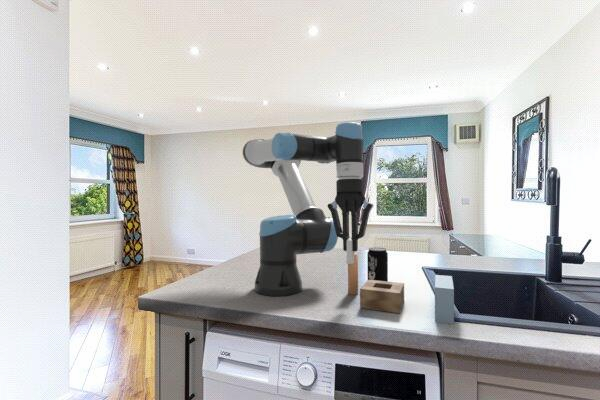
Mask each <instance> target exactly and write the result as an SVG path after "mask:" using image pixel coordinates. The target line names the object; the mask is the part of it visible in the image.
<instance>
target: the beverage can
mask: <svg viewBox="0 0 600 400" xmlns="http://www.w3.org/2000/svg"><path fill="white" fill-rule="evenodd" d="M388 254H389V253H388V252H387V248H385V247H369V248H368V251H367V280H377V281H387V282H389V281H388V280H389V276H388V275H389V274H388V273H389V270H388V269H389V266H388V265H389V263H388V261H389V260H388V259H389V257H388V256H389V255H388Z"/></svg>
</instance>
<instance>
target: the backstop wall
mask: <svg viewBox="0 0 600 400" xmlns="http://www.w3.org/2000/svg"><path fill="white" fill-rule="evenodd" d="M434 278H435V279H434V322H437V323H444V324H450V325H451V324H452V325H455V288H454V280H453V276H452V275H443V274H441V275H440V274H435V277H434Z"/></svg>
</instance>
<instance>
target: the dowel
mask: <svg viewBox="0 0 600 400" xmlns="http://www.w3.org/2000/svg"><path fill="white" fill-rule="evenodd" d="M347 294H349V295H351V296H357V295H359V254H358V253H355V252H354V263H353V264H347Z"/></svg>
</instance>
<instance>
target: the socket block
mask: <svg viewBox="0 0 600 400" xmlns="http://www.w3.org/2000/svg"><path fill="white" fill-rule="evenodd" d="M404 303H405V283H404V282H393V281H388V282H387V281H377V280H368V279H366V281H365V282H364V284H362V286H360V288H359V308H360V309H367V310H373V311H380V312H388V313H394V314H401V311H402V308H403V306H404Z"/></svg>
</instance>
